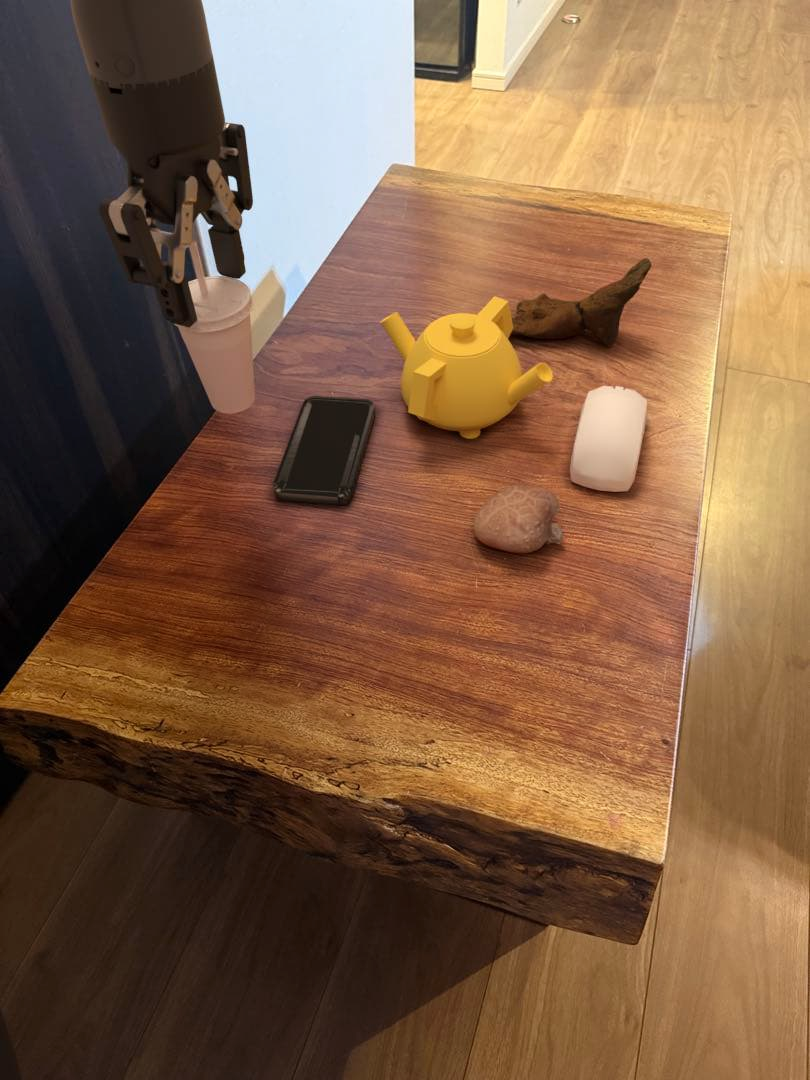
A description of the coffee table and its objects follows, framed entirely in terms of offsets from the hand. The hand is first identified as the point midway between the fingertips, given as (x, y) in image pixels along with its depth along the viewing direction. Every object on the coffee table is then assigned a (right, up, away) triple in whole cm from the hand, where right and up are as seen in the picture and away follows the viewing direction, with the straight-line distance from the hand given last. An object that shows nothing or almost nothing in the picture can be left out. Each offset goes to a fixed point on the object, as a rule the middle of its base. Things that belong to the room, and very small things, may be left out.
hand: (208, 297), depth 63 cm
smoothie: (0, -7, +7) cm, 10 cm away
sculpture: (+34, +5, +36) cm, 49 cm away
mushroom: (+25, -18, +15) cm, 35 cm away
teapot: (+21, -4, +28) cm, 35 cm away
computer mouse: (+35, -9, +22) cm, 43 cm away
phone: (+7, -9, +24) cm, 26 cm away
